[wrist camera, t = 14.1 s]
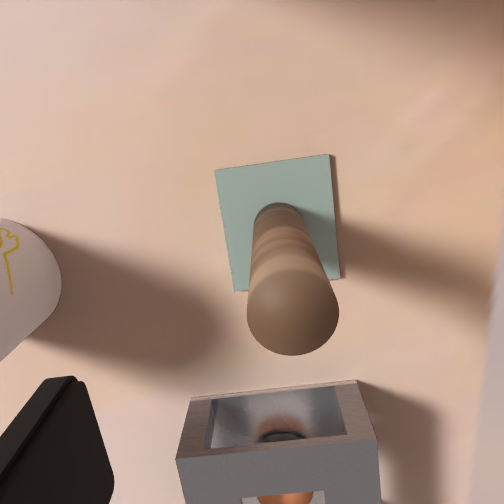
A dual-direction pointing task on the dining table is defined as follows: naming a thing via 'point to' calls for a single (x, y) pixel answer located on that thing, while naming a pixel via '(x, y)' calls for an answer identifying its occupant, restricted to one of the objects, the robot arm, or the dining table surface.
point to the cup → (24, 284)
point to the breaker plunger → (287, 498)
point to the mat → (271, 191)
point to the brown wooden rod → (288, 285)
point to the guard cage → (280, 446)
